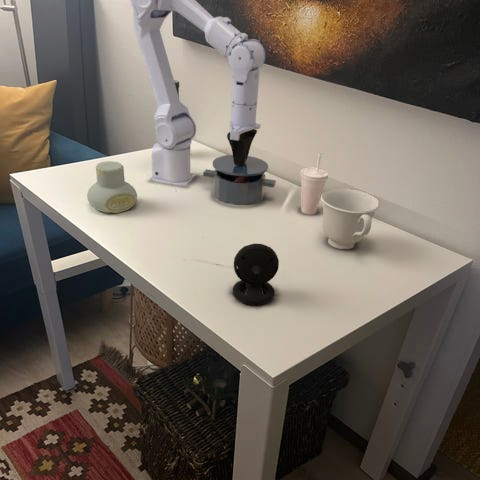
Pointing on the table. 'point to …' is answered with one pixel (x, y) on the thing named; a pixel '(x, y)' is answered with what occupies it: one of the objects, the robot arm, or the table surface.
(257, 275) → the webcam
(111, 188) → the air freshener
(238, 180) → the hot dog
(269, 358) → the table surface
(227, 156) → the pot lid
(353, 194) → the teacup
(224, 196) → the pot
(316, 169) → the smoothie
